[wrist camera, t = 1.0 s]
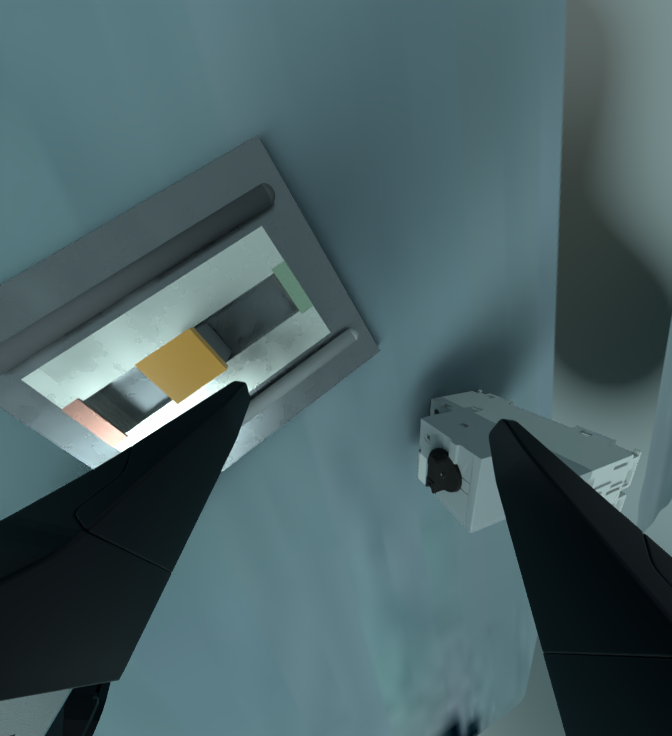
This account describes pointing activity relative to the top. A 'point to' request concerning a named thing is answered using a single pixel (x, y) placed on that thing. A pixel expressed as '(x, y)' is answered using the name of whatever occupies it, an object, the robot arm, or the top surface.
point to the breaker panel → (226, 324)
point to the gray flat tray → (152, 266)
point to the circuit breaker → (474, 461)
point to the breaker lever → (186, 362)
